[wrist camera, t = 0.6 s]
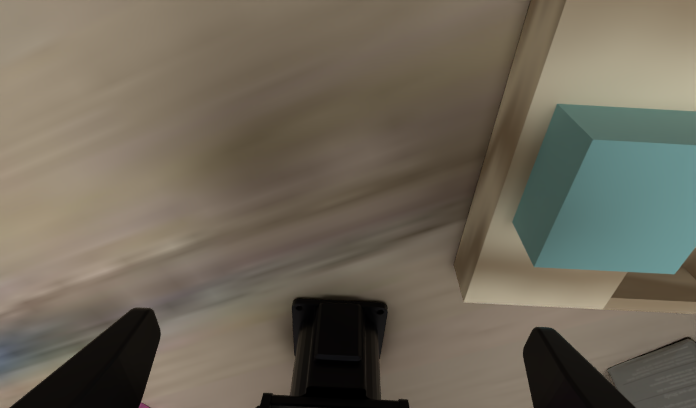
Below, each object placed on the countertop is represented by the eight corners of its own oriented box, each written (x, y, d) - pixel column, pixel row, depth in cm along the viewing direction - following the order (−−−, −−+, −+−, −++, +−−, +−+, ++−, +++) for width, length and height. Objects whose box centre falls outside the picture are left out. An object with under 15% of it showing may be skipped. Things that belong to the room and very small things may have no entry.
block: (635, 228, 19) (674, 274, 17) (512, 221, 19) (533, 267, 17) (708, 112, 16) (771, 149, 13) (556, 103, 16) (592, 139, 13)
